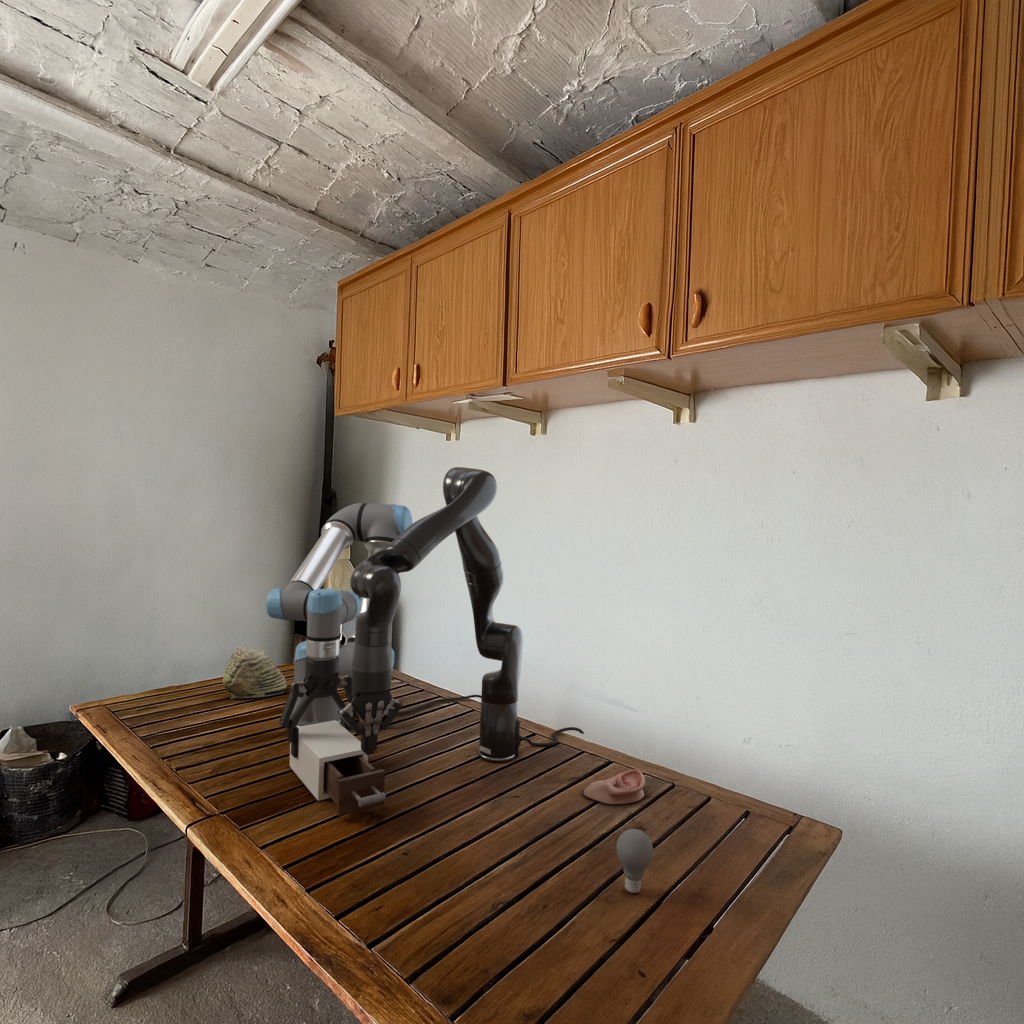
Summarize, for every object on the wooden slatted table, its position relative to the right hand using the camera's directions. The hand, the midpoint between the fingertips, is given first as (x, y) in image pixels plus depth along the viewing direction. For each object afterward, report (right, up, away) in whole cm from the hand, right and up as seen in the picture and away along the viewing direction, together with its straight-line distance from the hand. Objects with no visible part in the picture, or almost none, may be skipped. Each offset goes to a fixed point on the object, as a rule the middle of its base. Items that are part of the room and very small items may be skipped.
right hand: (368, 752), depth 125 cm
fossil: (-52, -10, +73) cm, 91 cm away
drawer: (-6, -12, +7) cm, 15 cm away
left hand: (-17, -8, +23) cm, 30 cm away
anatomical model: (+51, -15, +17) cm, 56 cm away
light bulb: (+48, -16, -19) cm, 54 cm away
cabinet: (-14, -13, +19) cm, 26 cm away
